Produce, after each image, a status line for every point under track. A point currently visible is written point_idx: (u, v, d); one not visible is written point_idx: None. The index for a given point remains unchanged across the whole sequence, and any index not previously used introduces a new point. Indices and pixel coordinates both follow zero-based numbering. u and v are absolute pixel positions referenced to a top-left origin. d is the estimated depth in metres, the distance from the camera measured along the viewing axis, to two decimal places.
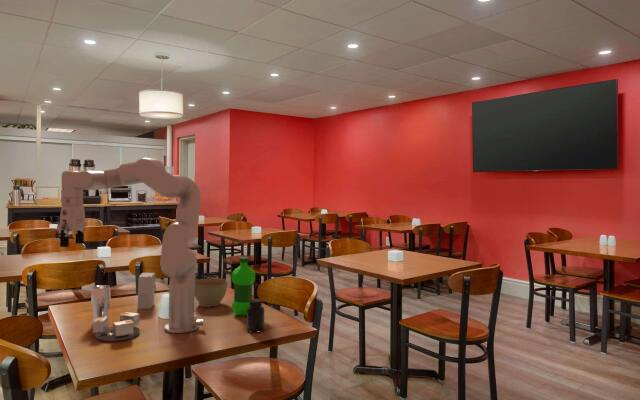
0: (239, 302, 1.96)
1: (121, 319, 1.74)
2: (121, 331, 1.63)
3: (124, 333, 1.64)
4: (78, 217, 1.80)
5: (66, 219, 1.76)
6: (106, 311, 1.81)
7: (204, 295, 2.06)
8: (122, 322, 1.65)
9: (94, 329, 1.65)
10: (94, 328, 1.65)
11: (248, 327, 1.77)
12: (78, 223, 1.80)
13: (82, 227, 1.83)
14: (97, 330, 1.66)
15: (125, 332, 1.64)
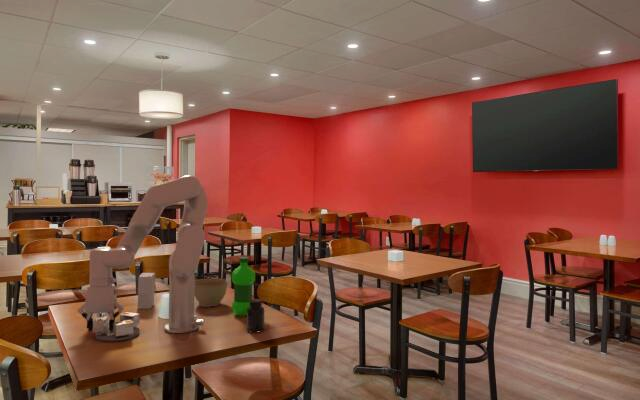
0: (239, 302, 1.96)
1: (121, 319, 1.74)
2: (121, 331, 1.63)
3: (124, 333, 1.64)
4: None
5: (116, 298, 1.70)
6: None
7: (204, 295, 2.06)
8: (122, 322, 1.65)
9: (94, 329, 1.65)
10: (94, 328, 1.65)
11: (248, 327, 1.77)
12: None
13: None
14: (97, 330, 1.66)
15: (125, 332, 1.64)
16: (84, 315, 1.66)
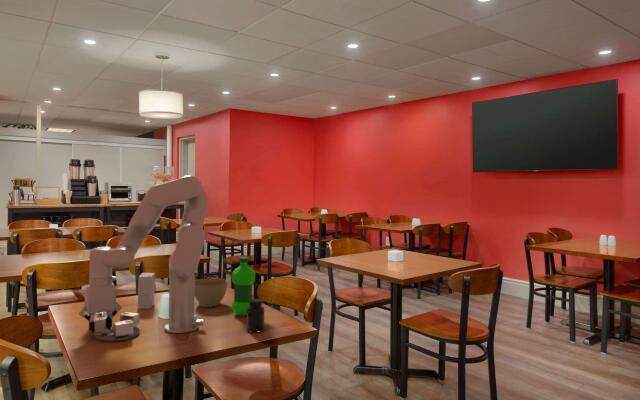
0: (239, 302, 1.96)
1: (121, 319, 1.74)
2: (121, 331, 1.63)
3: (124, 333, 1.64)
4: None
5: None
6: None
7: (204, 295, 2.06)
8: (122, 322, 1.65)
9: (96, 329, 1.65)
10: (96, 328, 1.65)
11: (248, 327, 1.77)
12: None
13: None
14: (99, 330, 1.66)
15: (125, 332, 1.64)
16: (87, 317, 1.65)
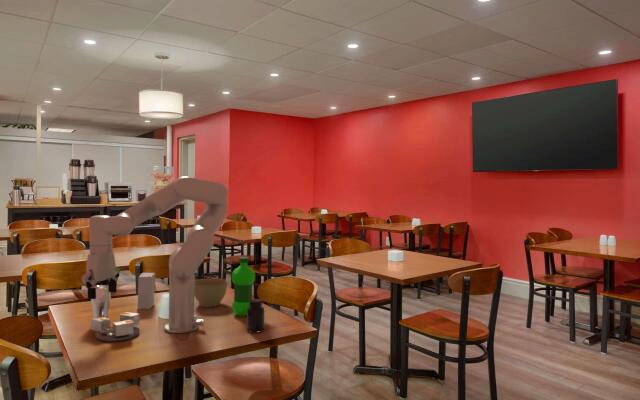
0: (239, 302, 1.96)
1: (121, 319, 1.74)
2: (121, 331, 1.63)
3: (124, 333, 1.64)
4: None
5: None
6: (106, 311, 1.81)
7: (204, 295, 2.06)
8: (122, 322, 1.65)
9: (102, 329, 1.66)
10: (102, 328, 1.66)
11: (248, 327, 1.77)
12: None
13: None
14: (105, 329, 1.67)
15: (125, 332, 1.64)
16: (89, 283, 1.61)
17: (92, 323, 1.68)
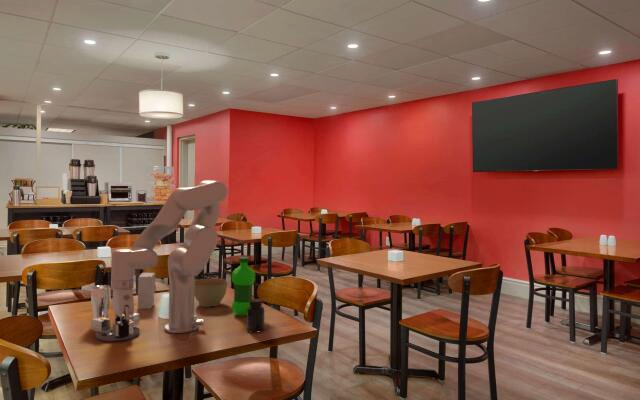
0: (239, 302, 1.96)
1: None
2: None
3: None
4: None
5: (129, 304, 1.61)
6: (106, 311, 1.81)
7: (204, 295, 2.06)
8: None
9: (102, 329, 1.66)
10: (102, 328, 1.66)
11: (248, 327, 1.77)
12: None
13: None
14: (105, 329, 1.67)
15: None
16: None
17: (92, 323, 1.68)
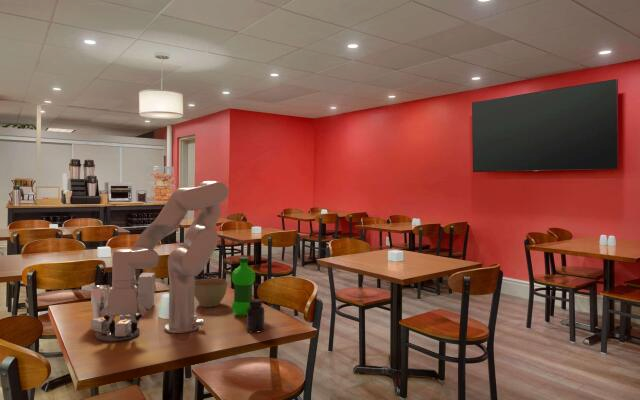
0: (239, 302, 1.96)
1: (121, 319, 1.74)
2: (127, 330, 1.64)
3: (128, 332, 1.65)
4: None
5: (138, 300, 1.66)
6: (106, 311, 1.81)
7: (204, 295, 2.06)
8: (122, 322, 1.65)
9: (102, 329, 1.66)
10: (102, 328, 1.66)
11: (248, 327, 1.77)
12: None
13: None
14: (105, 329, 1.67)
15: (128, 331, 1.65)
16: (106, 318, 1.63)
17: (92, 323, 1.68)
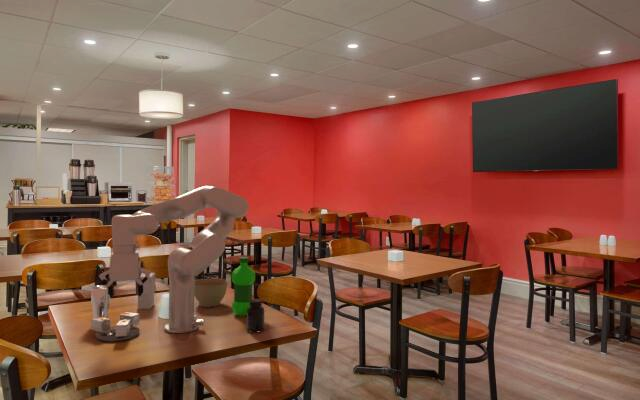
0: (239, 302, 1.96)
1: (121, 319, 1.74)
2: (127, 330, 1.64)
3: (128, 332, 1.65)
4: None
5: None
6: (106, 311, 1.81)
7: (204, 295, 2.06)
8: (122, 322, 1.65)
9: (102, 329, 1.66)
10: (102, 328, 1.66)
11: (248, 327, 1.77)
12: None
13: None
14: (105, 329, 1.67)
15: (128, 330, 1.66)
16: (105, 281, 1.63)
17: (92, 323, 1.68)
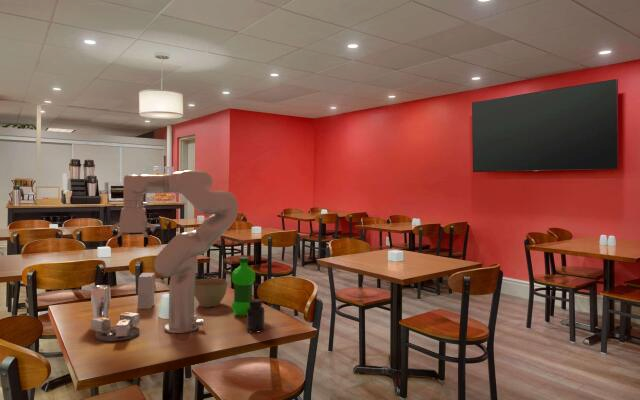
0: (239, 302, 1.96)
1: (121, 319, 1.74)
2: (127, 330, 1.64)
3: (128, 331, 1.65)
4: None
5: (146, 220, 1.89)
6: (106, 311, 1.81)
7: (204, 295, 2.06)
8: (122, 322, 1.65)
9: (102, 329, 1.66)
10: (102, 328, 1.66)
11: (248, 327, 1.77)
12: None
13: None
14: (105, 329, 1.67)
15: (128, 330, 1.66)
16: (115, 232, 1.85)
17: (92, 323, 1.68)
